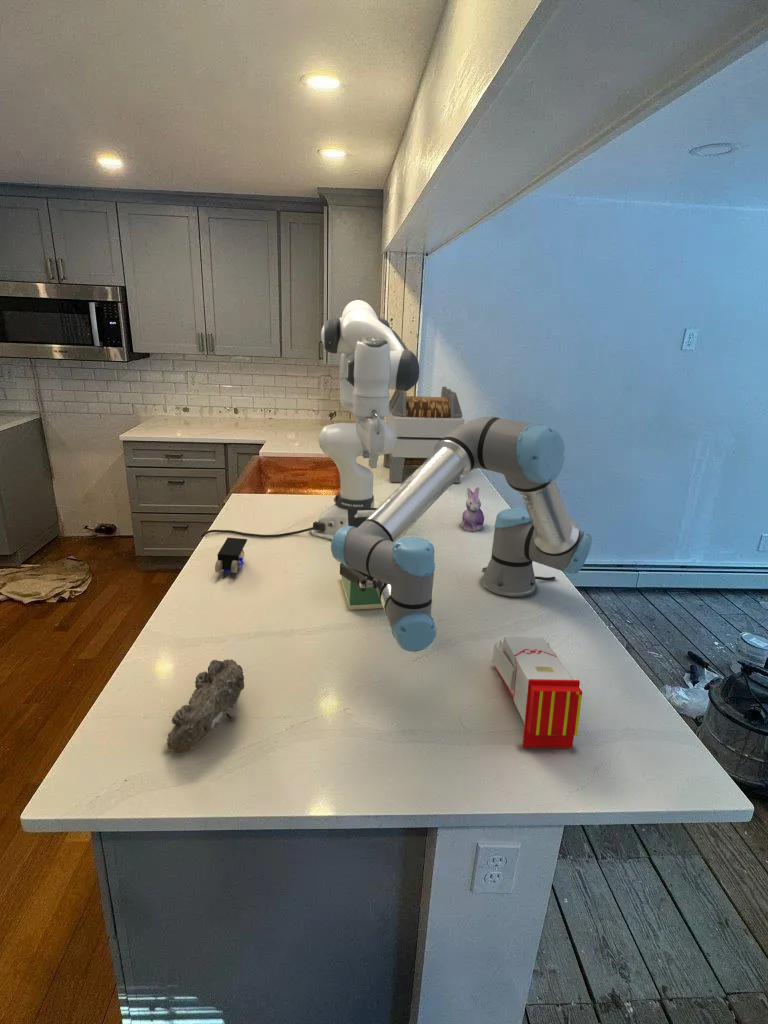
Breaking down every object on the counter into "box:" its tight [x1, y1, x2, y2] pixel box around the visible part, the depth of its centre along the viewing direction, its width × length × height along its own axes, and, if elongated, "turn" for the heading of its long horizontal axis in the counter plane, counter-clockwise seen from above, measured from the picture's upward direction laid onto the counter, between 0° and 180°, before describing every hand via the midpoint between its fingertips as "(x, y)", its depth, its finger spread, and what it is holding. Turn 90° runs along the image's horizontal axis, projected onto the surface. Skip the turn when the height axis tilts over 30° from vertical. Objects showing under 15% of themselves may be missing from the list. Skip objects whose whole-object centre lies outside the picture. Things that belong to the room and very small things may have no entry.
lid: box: [347, 507, 378, 528], centre depth 144 cm, size 17×10×8 cm
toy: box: [491, 636, 583, 749], centre depth 115 cm, size 12×13×30 cm
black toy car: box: [214, 537, 248, 578], centre depth 166 cm, size 7×8×15 cm
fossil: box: [166, 658, 245, 754], centre depth 106 cm, size 22×10×15 cm
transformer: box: [383, 386, 465, 484], centre depth 268 cm, size 34×33×41 cm
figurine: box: [461, 486, 485, 532], centre depth 206 cm, size 9×10×15 cm
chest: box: [341, 575, 384, 611], centre depth 156 cm, size 17×10×9 cm, turn 11°
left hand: (369, 462), depth 143 cm, fingers open, 8 cm apart
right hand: (378, 552), depth 133 cm, fingers open, 13 cm apart
